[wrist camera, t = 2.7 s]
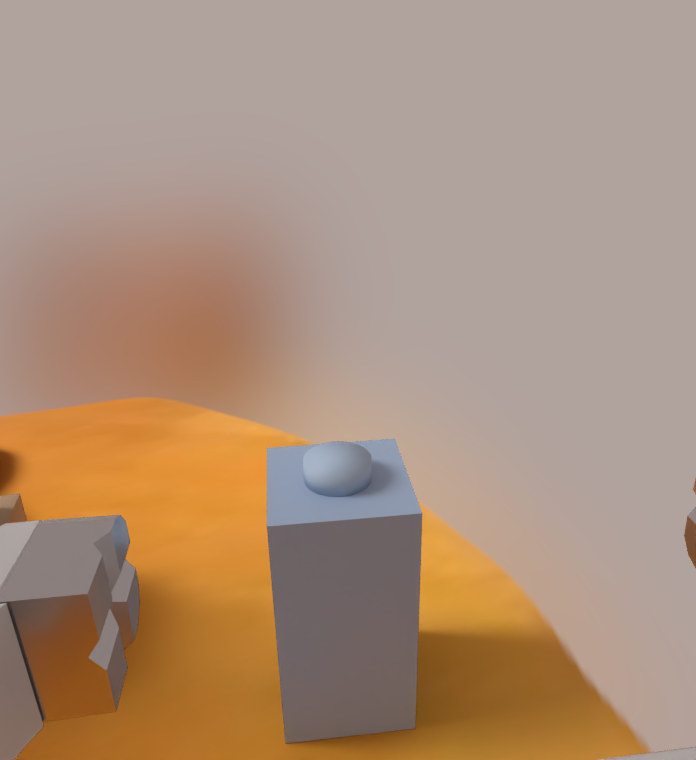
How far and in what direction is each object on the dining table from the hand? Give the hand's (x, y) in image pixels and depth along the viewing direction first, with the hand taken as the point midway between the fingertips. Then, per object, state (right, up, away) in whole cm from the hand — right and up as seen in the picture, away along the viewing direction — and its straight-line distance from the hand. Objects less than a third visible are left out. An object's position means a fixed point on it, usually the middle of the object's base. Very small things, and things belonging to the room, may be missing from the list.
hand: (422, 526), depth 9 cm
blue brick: (-1, -11, +18) cm, 21 cm away
